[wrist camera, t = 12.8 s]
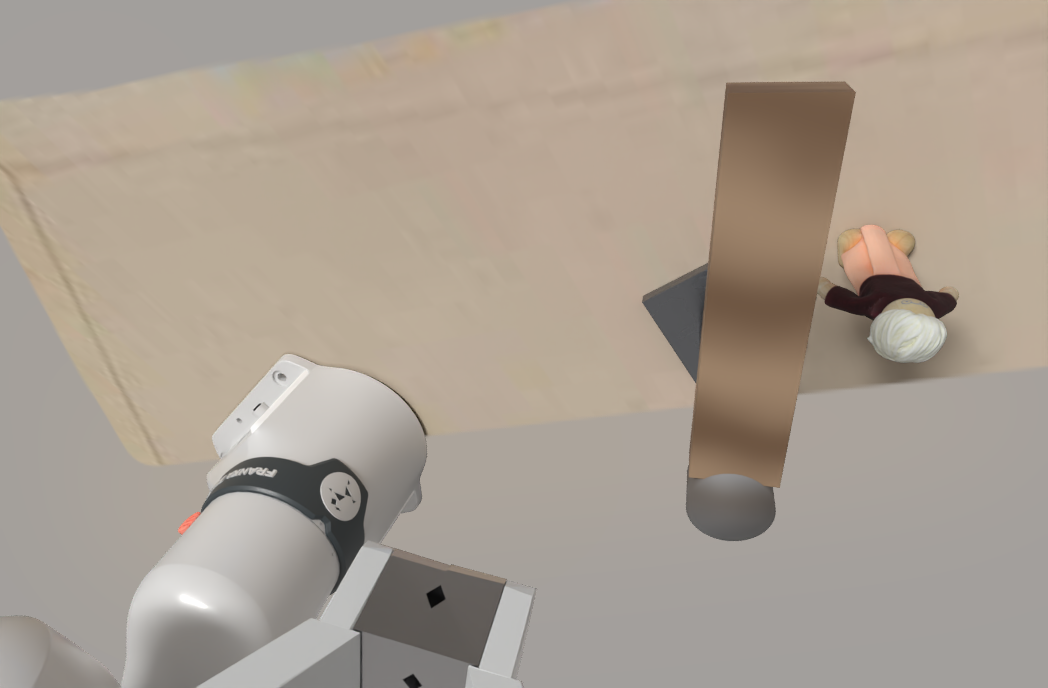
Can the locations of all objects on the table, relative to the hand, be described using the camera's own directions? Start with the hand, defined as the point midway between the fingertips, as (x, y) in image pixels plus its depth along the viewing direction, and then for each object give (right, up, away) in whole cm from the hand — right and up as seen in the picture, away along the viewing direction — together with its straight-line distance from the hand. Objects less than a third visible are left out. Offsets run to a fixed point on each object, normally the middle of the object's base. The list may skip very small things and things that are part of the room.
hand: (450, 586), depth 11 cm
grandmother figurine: (+23, +10, +32) cm, 41 cm away
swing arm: (+11, +5, +18) cm, 22 cm away
